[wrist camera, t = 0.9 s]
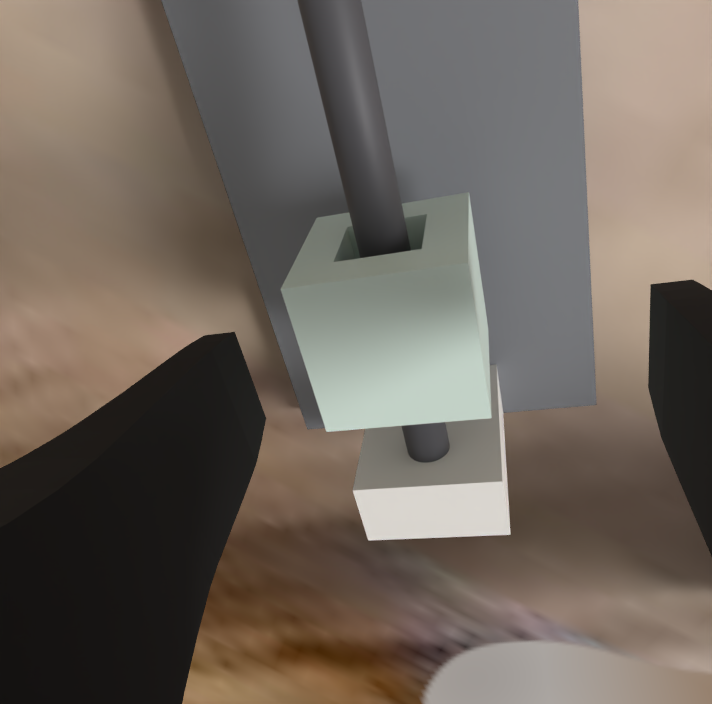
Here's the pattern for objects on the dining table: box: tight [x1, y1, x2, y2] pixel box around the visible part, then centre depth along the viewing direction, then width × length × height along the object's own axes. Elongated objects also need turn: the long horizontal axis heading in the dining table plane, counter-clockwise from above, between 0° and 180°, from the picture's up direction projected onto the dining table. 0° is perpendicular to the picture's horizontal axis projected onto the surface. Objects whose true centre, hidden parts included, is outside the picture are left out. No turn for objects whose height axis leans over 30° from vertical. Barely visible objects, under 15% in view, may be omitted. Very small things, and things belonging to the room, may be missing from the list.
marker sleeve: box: [281, 192, 492, 432], centre depth 16 cm, size 4×4×4 cm
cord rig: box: [161, 0, 596, 541], centre depth 15 cm, size 22×10×6 cm, turn 13°
